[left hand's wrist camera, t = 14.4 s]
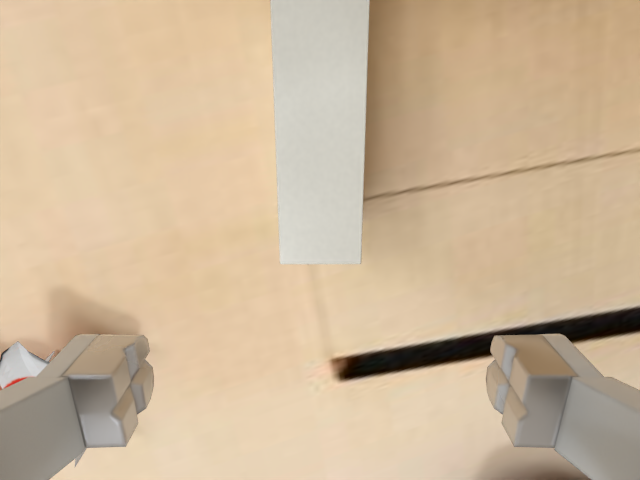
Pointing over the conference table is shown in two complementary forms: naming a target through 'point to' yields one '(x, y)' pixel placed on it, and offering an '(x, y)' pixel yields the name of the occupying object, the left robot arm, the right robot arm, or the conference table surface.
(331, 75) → the bar
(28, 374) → the fish
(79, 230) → the conference table surface
